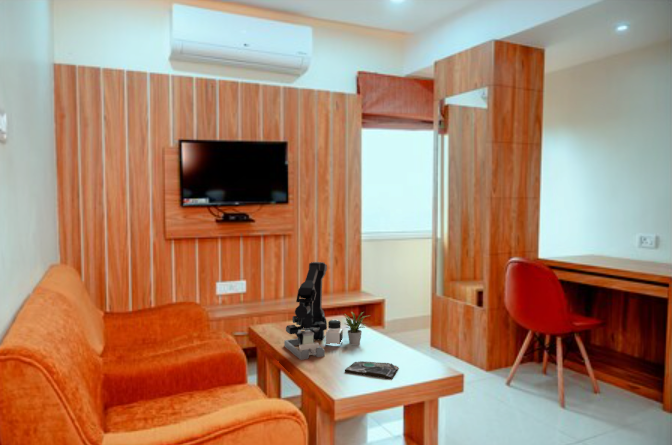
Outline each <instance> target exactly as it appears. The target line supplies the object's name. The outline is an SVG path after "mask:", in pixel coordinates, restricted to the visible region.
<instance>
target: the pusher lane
mask: <svg viewBox="0 0 672 445" xmlns="http://www.w3.org/2000/svg"><path fill="white" fill-rule="evenodd" d="M314 343H316V342H315V341H314ZM283 346H284V347H285V348H286V349H287V350H288V351H289V352H291V353H292V354H293V355H294V356H295V357H297V358H298V359H299V360H308V359H309V357H310V355H309V350H308V349H307V350H302V352H301V351H300V350H299V348H298V347H296V346H299V340H298V338H293V339H292V338H291V339H285V340H284V345H283ZM325 351H326V350H325V349H324V347H321V346H320V345H319V348H316V353H317V354H316V355H315V358H321V357H325V354H326V353H325Z"/></svg>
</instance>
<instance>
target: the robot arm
mask: <svg viewBox="0 0 672 445" xmlns="http://www.w3.org/2000/svg"><path fill="white" fill-rule="evenodd" d="M327 270H328V266H327V264H326V263H325V262H323V261H312V262H309V263H308V271H307V274H306V277H305V280H304V282H302V283H300V286H299V288H298V290H297V295H296V303H299V304H298V306H296V308H295V310H294V314H295V315H293V316H292V323H293V324H288V325H286V327H285V332H287V333H288V334H289V335H295V336H296V339H298V340H299V343H300V345H302V338H303V334H302V333H301V331H305V330H308V329H310V331H312V332H313V333H314V335H313V343H314V342H315V341H324V339H325V338H326V335H325V331H327V330H328V322H327V318H326V316H325V311H324V309H323V308H322V304H323V302H322V301H323V300H322V299H323V279H324V277H325V275H326V273H327ZM296 325H298V326H296Z"/></svg>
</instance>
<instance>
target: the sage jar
mask: <svg viewBox="0 0 672 445" xmlns="http://www.w3.org/2000/svg"><path fill="white" fill-rule="evenodd" d="M301 333H302V334H303V338H302V344H309V343H313V335H314V333H313V332H312V331H310V330H301ZM299 345H300V343H299ZM299 345H298V346H299Z"/></svg>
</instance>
